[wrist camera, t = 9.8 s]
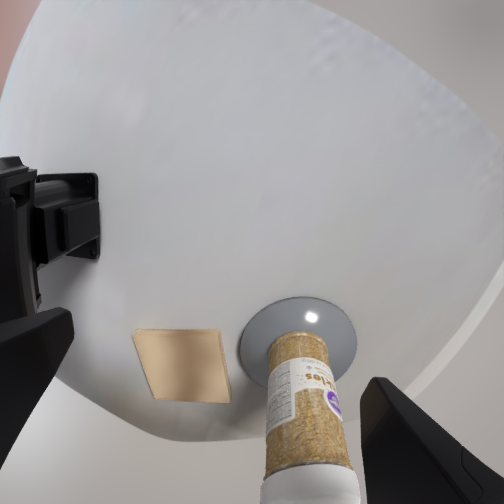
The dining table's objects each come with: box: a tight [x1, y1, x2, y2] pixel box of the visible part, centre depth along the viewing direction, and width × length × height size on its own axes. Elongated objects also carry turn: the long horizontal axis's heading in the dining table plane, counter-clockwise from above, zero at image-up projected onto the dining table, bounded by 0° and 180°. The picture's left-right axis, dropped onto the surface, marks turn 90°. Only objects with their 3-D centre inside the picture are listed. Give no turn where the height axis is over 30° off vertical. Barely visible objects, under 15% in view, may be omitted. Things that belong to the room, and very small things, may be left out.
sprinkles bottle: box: [260, 331, 361, 504], centre depth 15 cm, size 5×5×14 cm
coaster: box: [240, 297, 357, 389], centre depth 22 cm, size 9×9×1 cm
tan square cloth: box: [133, 329, 231, 403], centre depth 23 cm, size 7×7×1 cm
